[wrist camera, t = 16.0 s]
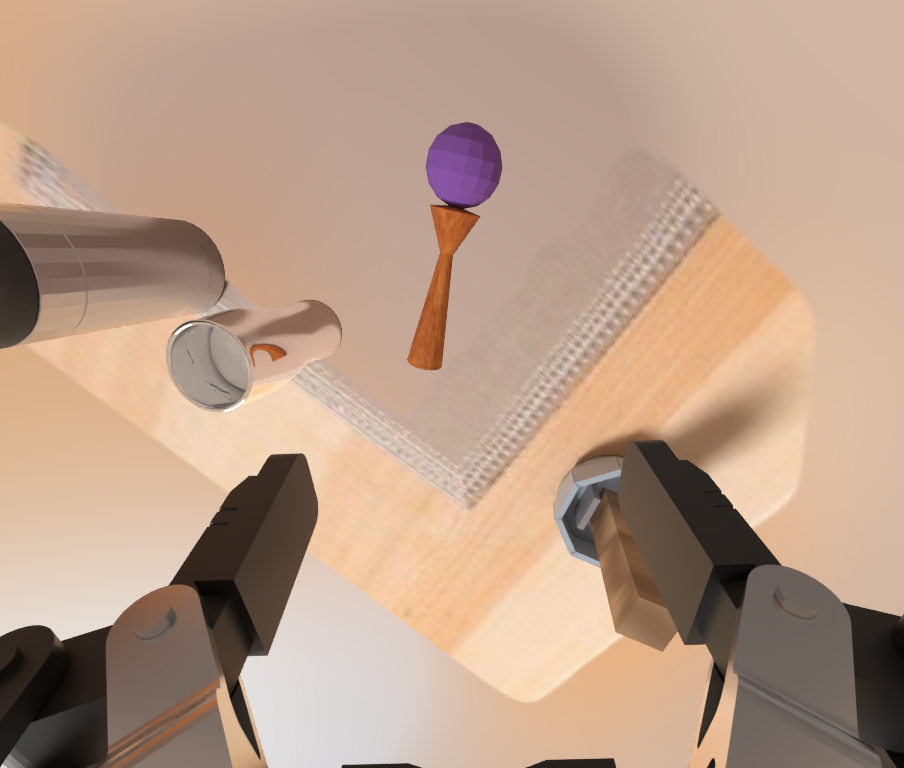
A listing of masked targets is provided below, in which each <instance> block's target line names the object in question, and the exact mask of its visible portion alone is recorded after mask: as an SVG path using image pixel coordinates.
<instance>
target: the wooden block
mask: <svg viewBox="0 0 904 768" xmlns="http://www.w3.org/2000/svg"><path fill="white" fill-rule="evenodd" d="M599 496H600V499H601V501H600V503H599V504H598V506H597V508H596V509H595V511H594V513H593V514H592V516H591V518H590V524H591V528H592V533H593V537H594V541H595V546H596V550H597V554H598V558H599V563H600V567H601V571H602V575H603V580H604V584H605V588H606V592H607V597H608V601H609V605H610V610H611V614H612V618H613V622H614V627H615V631H616V632H617V633H619V634H622V635H624V636H626V637H629V638H631V639H634V640H636V641H639V642H641V643H643V644H645V645H648V646H650V647H653V648H655V649H657V650H660V651H663V650H664V649H665V648H666V646H667V645H668V644H669V642H670V641H671V640H672V638H673V637H674V635H675V634H676V633H677V631H678V630H677V628H676V626H675V624H674V622H673V620H672V618H671V616H670V614H669V612H668V609H667V607H666V605H665V603H664V601H663V599H662V597H661V595H660V593H659V591H658V589H657V586H656V584H655V582H654V580H653V578H652V576H651V574H650V572H649V570H648V568H647V566H646V564H645V561H644V559H643V557H642V555H641V553H640V551H639V549H638V547H637V545H636V543H635V541H634V538H633V536H632V534H631V532H630V530H629V528H628V526H627V524H626V522H625V520H624V518H623V515H622V513H621V510H620V506H619V501H618V493H616V492H614V491H611V490H609V489H606V488H604V487H603V489H602V491H601V492H600V494H599Z"/></svg>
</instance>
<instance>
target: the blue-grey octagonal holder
mask: <svg viewBox="0 0 904 768" xmlns="http://www.w3.org/2000/svg"><path fill="white" fill-rule="evenodd" d="M623 460H624V457H621V456H600V457H596V458H592V459H589V460H586V461H584V462H582V463H580V464H578V465H577V466H575V467H574V468H573V469H572V470H571V471H569V472H568V474H567V475H566V476H565V477H564V479H563V480H562V482H561V484H560V486H559V489H558V493H557V498H556V499H555V501H554V503H553V508H554V517H555V521H556V523H557V526H558V528H559V530H560V533H561V535H562V537H563V539H564V542H565V544H566V546H567V549H568V551H569V553H570V554H571V555H572V556H574V557H576V558H579V559H581V560H583V561H586V562H588V563H590V564H593V565H595V566H597V567H600V563H599V558H598V554H597V550H596V546H595V541H594V537H593V533H592V528H591V524H590V518H591V516H592V514H593V513H594V511H595V509H596V508H597V506H598V504H599V503H600V501H601V499H600V496H599V494H600V492H601V491H602V489H603V487H604V488H606V489H609V490H611V491H614V492H616V493H618V487H619V482H620V476H621V471H622V465H623ZM600 568H601V567H600Z"/></svg>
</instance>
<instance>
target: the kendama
mask: <svg viewBox="0 0 904 768" xmlns="http://www.w3.org/2000/svg"><path fill="white" fill-rule="evenodd" d="M426 170H427V176H428V181H429V184H430V186H431V187H432V189H433V191H434V192H435V194H436V196H437V197H438V198H440V199H441V200H442V201H444V202H445V203H446V204H448V205H449V206H447V205H430V207H431V211H432V216H433V220H434V225H435V230H436V234H437V238H438V243H439V248H440V255H439V259H438V262H437V265H436V268H435V272H434V275H433V278H432V281H431V284H430V288H429V291H428V294H427V298H426V301H425V304H424V307H423V310H422V314H421V317H420V320H419V323H418V327H417V330H416V334H415V337H414V339H413V343H412V346H411V349H410V353H409V356H408V359H407V360H408V362H409V363H410V364H411V365H413V366H415V367H417V368H420V369H424V370H437V369H440V368H441V366H442V358H443V347H444V338H445V328H446V318H447V308H448V298H449V288H450V278H451V268H452V259H453V254H454V253H455V251H456V250H457V249H458V247H459V246H460V244H461V243H462V241H463V240H464V239H465V237H466V236H467V234H468V233H469V232H470V230H471V229H472V227H473V226H474V225H475V223H476V222H477V220H478V219H479V218H480V216H478V215H476V214H473V213H471V212H469V211H467V210H464V209H465V208H470V207H475V206H478V205H480V204H481V203H482V202H484V201H485V200H487V199H488V198H490V196H491V195H492V193H493V192H494V190H495V189H496V187H497V186H498V184H499V180H500V176H501V172H502V162H501V153H500V150H499V148H498V146H497V144H496V142H495V141H494V138H493V136H492V135H491V134H490V133H488V132H487V131H486V130H484V129H483V128H482V127H481V126H479V125H476V124H473V123H468V122H466V123H461V124H455V125H451V126H449V127H448V128H447V129H445V130H444V131H443V132H441V133H440V134H439V135H437V137H436V138H435V140H434V142H433V143H432V145H431V147H430V149H429V151H428V157H427V163H426Z"/></svg>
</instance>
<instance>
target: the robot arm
mask: <svg viewBox="0 0 904 768" xmlns="http://www.w3.org/2000/svg"><path fill="white" fill-rule="evenodd" d="M224 283H225V271H224V264H223V261H222V258H221V255H220V253H219V251H218V249H217V247H216V245H215V244H214V243H213V241H212V240H211V238H210V237H209V236H208V235H207V234H206V233H205V232H204V231H203V230H202V229H200V228H198V227H197V226H195V225H194V224H191V223H188V222H186V221H181V220H172V219H163V218H153V217H145V216H135V215H124V214H114V213H104V212H93V211H83V210H73V209H63V208H52V207H42V206H32V205H22V204H9V203H0V349H2V348H7V347H12V346H17V345H23V344H28V343H34V342H39V341H45V340H50V339H56V338H61V337H66V336H72V335H77V334H83V333H89V332H94V331H100V330H105V329H111V328H117V327H122V326H128V325H134V324H139V323H145V322H151V321H156V320H162V319H168V318H174V317H179V316H185V315H191V314H196V313H200V312H203V311H206V310H208V309H209V308H211V307H213V306H214V304H215V303H216V302H217V301H218V300H219V298H220V296H221V294H222V291H223V288H224ZM618 501H619V506H620V510H621V513H622V515H623V518H624V520H625V522H626V524H627V526H628V528H629V530H630V532H631V534H632V536H633V538H634V541H635V543H636V545H637V547H638V549H639V551H640V553H641V555H642V557H643V559H644V561H645V564H646V566H647V568H648V570H649V572H650V574H651V576H652V578H653V580H654V582H655V584H656V586H657V589H658V591H659V593H660V595H661V597H662V599H663V601H664V603H665V605H666V607H667V609H668V612H669V614H670V616H671V618H672V620H673V622H674V624H675V626H676V628H677V630H678V632H679V634H680V637H681V639H682V641H683V643H684V645H699V644H706V645H707V647H708V649H709V651H710V653H711V655H712V657H713V659H712V661H711V664H710V667H709V672H708V676H707V681H706V686H705V691H704V696H703V701H702V705H701V710H700V715H699V719H698V724H697V729H696V734H695V739H694V744H693V748H692V753H691V757H690V761H689V765H688V768H904V615H903V616H902V617H900V616H896V615H892V614H888V613H883V612H879V611H875V610H871V609H866V608H862V607H858V606H853V605H849V604H845V603H842V602H841V601H840V600H839V599H838V598H837V596H836V595H835V594H834V593H833V592H832V591H831V590H829V589H828V588H827V587H826V586H824V585H823V584H822V583H820V582H819V581H817V580H816V579H814V578H812V577H810V576H809V575H807V574H805V573H802V572H800V571H798V570H795V569H792V568H789V567H785V566H782V565H781V564H780V563H779V561H778V560H777V559H776V558H775V557H774V555H773V554H772V553H771V552H770V550H769V549H768V548H767V547H766V545H765V544H764V543H763V542H762V541H761V539H760V538H759V537H758V536H757V534H756V533H755V532H754V531H753V529H752V528H751V527H750V526H749V524H748V523H747V522H746V521H745V520H744V518H743V517H742V516H741V515H740V513H739V512H738V511H737V510H736V509H733V505H732V503H731V502H730V501H729V500H728V499H727V497H726V496H725V495H722V493H721V490H720V489H719V487H718V486H717V485H716V484H715V483H714V481H713V480H712V479H711V478H710V476H709V475H708V474H707V473H705V472H704V471H702V470H701V469H699V468H698V467H697V466H695V465H694V464H692V463H691V462H689V461H688V460H678V459H677V457H676V456H675V455H674V453H673V452H672V451H671V449H670V448H669V447H668V445H667V444H666V443H665V442H664V441H662V440H649V441H630V442H628V444H627V446H626V449H625V454H624V460H623V465H622V471H621V476H620V482H619V487H618ZM317 517H318V501H317V496H316V492H315V489H314V485H313V481H312V477H311V474H310V470H309V466H308V462H307V459H306V457H305V455H304V454H302V453H300V454H275V455H271V456H269V457H268V459H267V460H266V462H265V464H264V465H263V467H262V469H261V470H260V472H259V474H258V475H257V476H249V477H247V478H246V479H245V480H244V481H243V482H241V483H240V484H239V485H238V486H237V487H235V488H234V489H233V490H232V491H231V492H230V493H229V495H228V496H227V498H226V499H225V501H224V502H223V504H222V506H221V507H220V511H219V512H217V513H216V515H215V516H214V518H213V519H212V521H211V522H210V527H207V528H206V530H205V531H204V533H203V534H202V536H201V537H200V539H199V540H198V542H197V543H196V545H195V546H194V548H193V550H192V551H191V552H190V554H189V556H188V557H187V559H186V560H185V562H184V563H183V565H182V566H181V568H180V569H179V571H178V572H177V574H176V575H175V577H174V578H173V580H172V581H171V583H170V584H169V586H166V587H163V588H160V589H157V590H155V591H152V592H150V593H149V594H146V595H145V596H143V597H142V598H140V599H139V600H137V601H136V602H134V603H133V604H132V605H131V606H130V607H128V608H127V609H126V610H125V611H124V612H123V613H122V614H121V615H120V617H119V618H118V619H117V620H116V621H115V623H114V624H113V625H111V626H108V627H105V628H102V629H98V630H95V631H92V632H89V633H85V634H83V635H79V636H76V637H73V638H70V639H66V640H63V641H60V640H59V639H58V637H57V636H56V635H55V634H54V633H53V632H52V630H51V629H50V628H48V627H45V626H41V625H36V626H35V625H34V626H28V627H24V628H20V629H17V630H14V631H12V632H9V633H7V634H5V635H3V636H1V637H0V767H1V765H2V764H4V765H5V766H6V767H8V768H268V766H267V763H266V759H265V756H264V753H263V749H262V746H261V742H260V739H259V736H258V732H257V729H256V725H255V722H254V718H253V715H252V712H251V708H250V705H249V701H248V698H247V694H246V691H245V688H244V684H243V681H242V678H241V676H240V673H241V670H242V668H243V665H244V663H245V661H246V658H247V656H266V655H268V653H269V650H270V647H271V645H272V642H273V639H274V637H275V634H276V631H277V629H278V626H279V623H280V620H281V618H282V615H283V612H284V610H285V607H286V604H287V601H288V598H289V596H290V593H291V590H292V588H293V585H294V582H295V579H296V577H297V574H298V571H299V569H300V566H301V563H302V560H303V558H304V555H305V553H306V550H307V547H308V544H309V542H310V539H311V536H312V533H313V531H314V528H315V525H316V522H317ZM342 768H421V767H418V766H415V765H411V764H408V763H405V764H404V763H403V764H366V765H365V764H363V765H342ZM527 768H616V765H615V762H614V759H613V758H612V759H611V758H610V759H609V758H608V759H567V760H545V761H542V762H540V763H537V764H535V765H532V766H530V767H527Z"/></svg>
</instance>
